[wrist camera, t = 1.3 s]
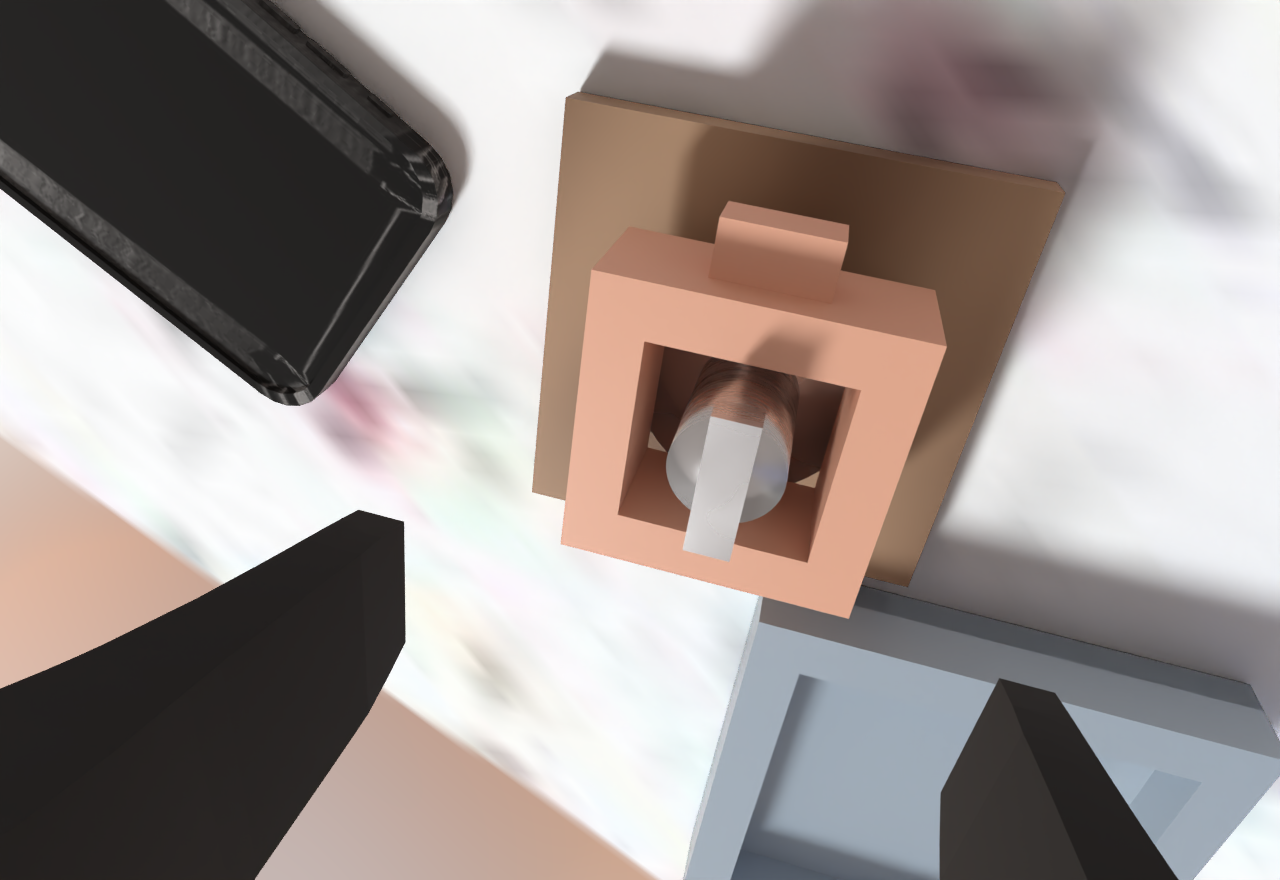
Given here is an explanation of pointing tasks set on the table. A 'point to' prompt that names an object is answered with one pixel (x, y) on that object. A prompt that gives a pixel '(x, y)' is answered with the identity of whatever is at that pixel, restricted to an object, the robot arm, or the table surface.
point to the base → (877, 247)
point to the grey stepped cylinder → (736, 440)
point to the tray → (949, 740)
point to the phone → (219, 174)
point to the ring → (762, 337)
